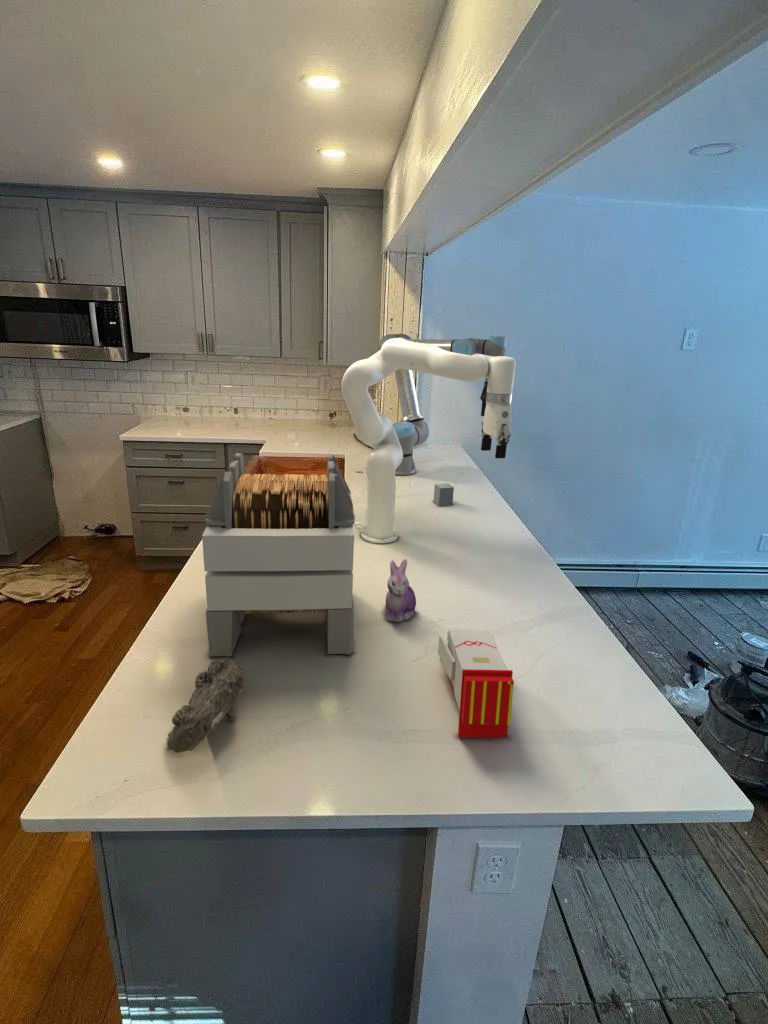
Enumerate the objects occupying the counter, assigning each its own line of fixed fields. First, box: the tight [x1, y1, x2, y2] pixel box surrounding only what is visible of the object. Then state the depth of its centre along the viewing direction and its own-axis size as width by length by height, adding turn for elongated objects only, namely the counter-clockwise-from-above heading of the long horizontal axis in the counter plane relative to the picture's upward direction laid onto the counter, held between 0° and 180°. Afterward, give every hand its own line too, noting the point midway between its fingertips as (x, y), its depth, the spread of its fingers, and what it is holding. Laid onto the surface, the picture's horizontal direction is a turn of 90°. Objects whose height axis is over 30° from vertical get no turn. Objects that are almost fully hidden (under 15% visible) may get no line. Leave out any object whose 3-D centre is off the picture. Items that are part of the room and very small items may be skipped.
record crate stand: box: [201, 452, 356, 658], centre depth 136 cm, size 34×33×41 cm
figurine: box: [384, 558, 417, 623], centre depth 145 cm, size 9×10×15 cm
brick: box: [433, 482, 455, 507], centre depth 232 cm, size 6×6×8 cm
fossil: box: [166, 658, 245, 754], centre depth 106 cm, size 22×10×15 cm
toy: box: [437, 628, 515, 738], centre depth 117 cm, size 12×13×30 cm
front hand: (492, 454), depth 177 cm, fingers open, 9 cm apart
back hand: (489, 418), depth 261 cm, fingers open, 13 cm apart
